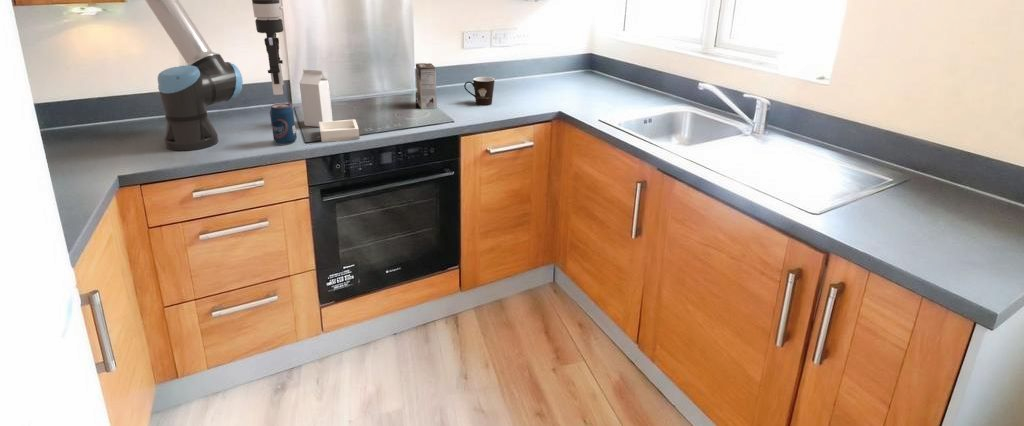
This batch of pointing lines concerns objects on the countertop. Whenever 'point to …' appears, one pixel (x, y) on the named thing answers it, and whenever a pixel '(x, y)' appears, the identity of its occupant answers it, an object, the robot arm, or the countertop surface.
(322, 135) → the bin
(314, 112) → the milk carton
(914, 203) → the countertop surface
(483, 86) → the coffee mug
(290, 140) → the soda can
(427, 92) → the coffee box
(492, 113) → the countertop surface
